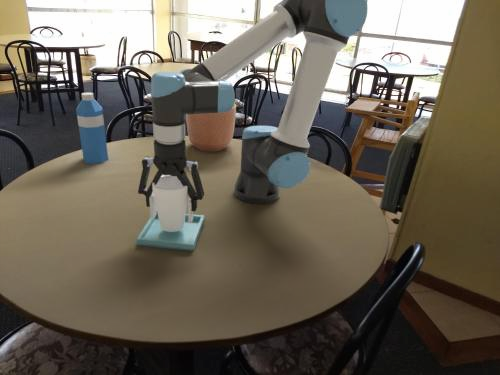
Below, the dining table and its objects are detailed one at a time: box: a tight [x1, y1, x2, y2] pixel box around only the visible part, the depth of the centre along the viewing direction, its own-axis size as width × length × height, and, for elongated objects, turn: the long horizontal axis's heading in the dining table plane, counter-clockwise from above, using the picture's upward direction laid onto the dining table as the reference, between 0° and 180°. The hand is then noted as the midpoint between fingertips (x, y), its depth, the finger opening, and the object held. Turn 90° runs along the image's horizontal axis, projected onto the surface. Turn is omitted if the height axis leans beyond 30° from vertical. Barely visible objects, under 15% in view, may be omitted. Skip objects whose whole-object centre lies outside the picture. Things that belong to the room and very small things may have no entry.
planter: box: [185, 102, 237, 153], centre depth 159 cm, size 21×21×19 cm
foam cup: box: [152, 174, 190, 232], centre depth 98 cm, size 10×9×13 cm
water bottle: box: [75, 91, 109, 165], centre depth 138 cm, size 9×9×25 cm
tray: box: [136, 210, 205, 252], centre depth 102 cm, size 15×15×2 cm
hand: (172, 218), depth 100 cm, fingers closed on foam cup, 9 cm apart
